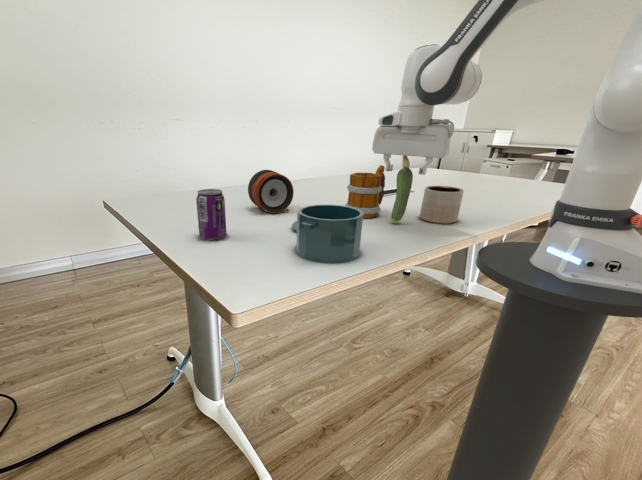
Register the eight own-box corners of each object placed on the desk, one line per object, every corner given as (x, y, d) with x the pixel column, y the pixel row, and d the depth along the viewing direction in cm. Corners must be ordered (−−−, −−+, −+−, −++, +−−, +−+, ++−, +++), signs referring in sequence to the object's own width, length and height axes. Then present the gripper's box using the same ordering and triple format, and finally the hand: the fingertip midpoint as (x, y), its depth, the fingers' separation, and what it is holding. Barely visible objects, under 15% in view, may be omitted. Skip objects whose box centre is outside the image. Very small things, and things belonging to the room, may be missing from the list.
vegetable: (400, 221, 106) (411, 152, 97) (408, 225, 102) (420, 154, 93) (387, 222, 105) (397, 153, 96) (394, 226, 101) (405, 154, 93)
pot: (374, 246, 84) (379, 208, 80) (333, 272, 70) (336, 227, 66) (323, 235, 93) (325, 200, 89) (277, 255, 79) (277, 215, 75)
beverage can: (229, 239, 89) (226, 192, 84) (201, 242, 87) (197, 194, 82) (223, 232, 95) (220, 188, 90) (197, 234, 93) (193, 189, 88)
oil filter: (257, 215, 112) (256, 174, 106) (246, 207, 122) (245, 169, 117) (293, 212, 116) (294, 172, 110) (279, 204, 126) (280, 167, 121)
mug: (337, 214, 114) (341, 166, 108) (367, 206, 124) (372, 163, 117) (364, 220, 106) (370, 170, 100) (393, 212, 116) (400, 166, 110)
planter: (439, 214, 114) (445, 184, 110) (465, 222, 105) (472, 190, 101) (411, 216, 111) (417, 186, 107) (435, 225, 102) (442, 193, 98)
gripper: (459, 119, 88) (447, 175, 94) (382, 118, 99) (376, 168, 105) (452, 119, 83) (440, 177, 89) (373, 118, 95) (367, 170, 101)
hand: (405, 172), depth 97 cm, fingers open, 8 cm apart
